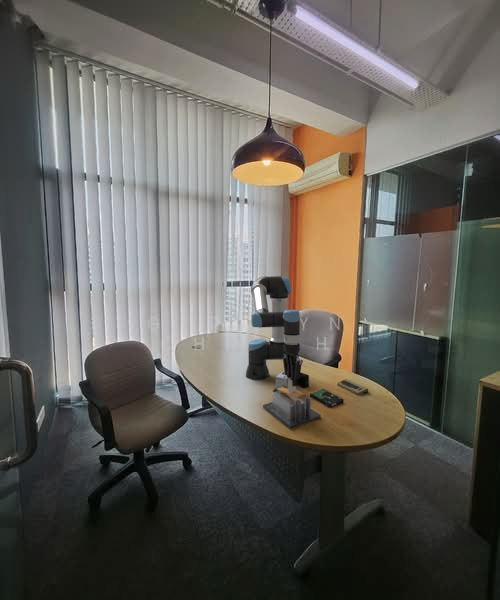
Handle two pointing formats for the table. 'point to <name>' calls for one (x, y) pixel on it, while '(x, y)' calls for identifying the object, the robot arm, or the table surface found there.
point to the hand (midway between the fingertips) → (292, 391)
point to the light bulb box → (281, 380)
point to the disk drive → (327, 398)
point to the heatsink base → (291, 422)
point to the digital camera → (303, 380)
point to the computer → (353, 387)
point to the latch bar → (295, 394)
